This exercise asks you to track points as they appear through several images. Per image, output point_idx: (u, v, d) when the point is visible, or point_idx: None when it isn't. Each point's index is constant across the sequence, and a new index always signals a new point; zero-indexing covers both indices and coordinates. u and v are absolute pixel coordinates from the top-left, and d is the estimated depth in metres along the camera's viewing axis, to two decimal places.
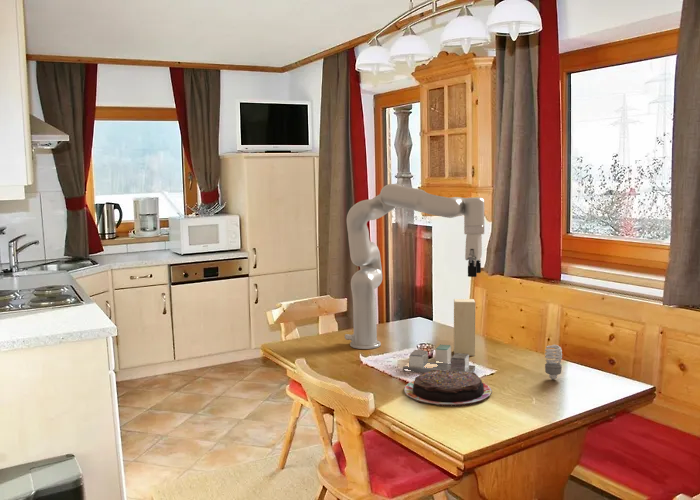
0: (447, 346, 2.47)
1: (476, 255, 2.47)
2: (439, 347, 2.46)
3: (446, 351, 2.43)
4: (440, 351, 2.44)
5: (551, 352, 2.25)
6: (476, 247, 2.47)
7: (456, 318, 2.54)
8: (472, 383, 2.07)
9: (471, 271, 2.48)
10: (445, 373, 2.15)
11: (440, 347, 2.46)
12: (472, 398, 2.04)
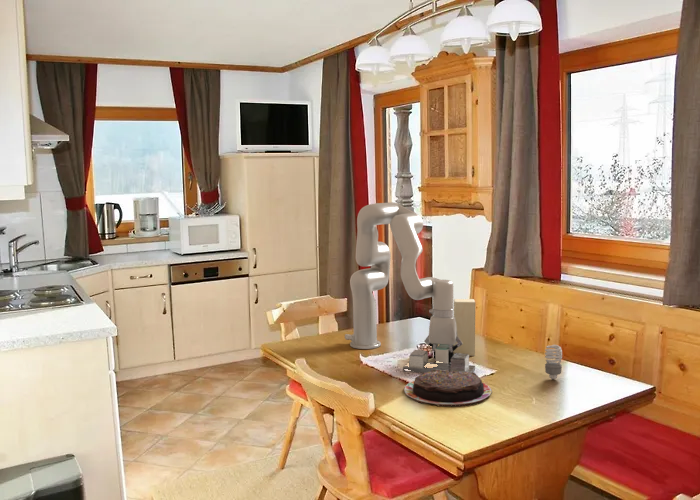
0: (447, 346, 2.47)
1: None
2: (439, 347, 2.46)
3: (446, 351, 2.43)
4: (440, 351, 2.44)
5: (551, 352, 2.25)
6: None
7: (456, 318, 2.54)
8: (472, 383, 2.07)
9: (452, 356, 2.46)
10: (445, 373, 2.15)
11: (440, 347, 2.46)
12: (472, 398, 2.04)
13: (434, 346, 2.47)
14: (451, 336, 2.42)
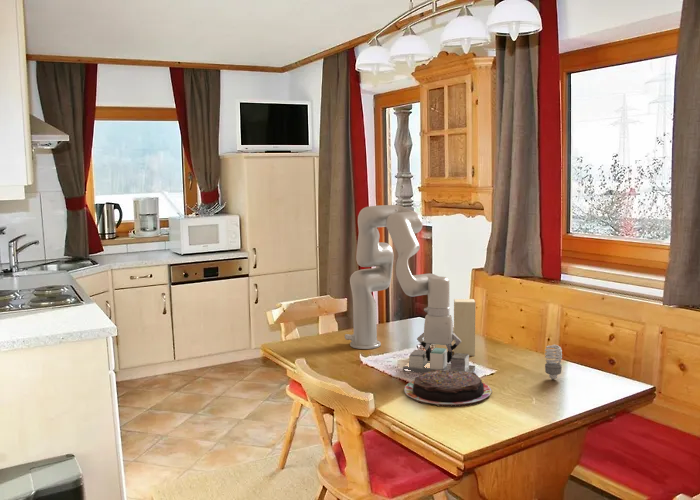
0: (442, 349, 2.36)
1: None
2: (434, 350, 2.35)
3: (441, 355, 2.33)
4: (435, 355, 2.33)
5: (551, 352, 2.25)
6: None
7: (456, 318, 2.54)
8: (472, 383, 2.07)
9: (451, 356, 2.35)
10: (445, 373, 2.15)
11: (435, 350, 2.35)
12: (472, 398, 2.04)
13: (427, 345, 2.36)
14: (447, 335, 2.32)
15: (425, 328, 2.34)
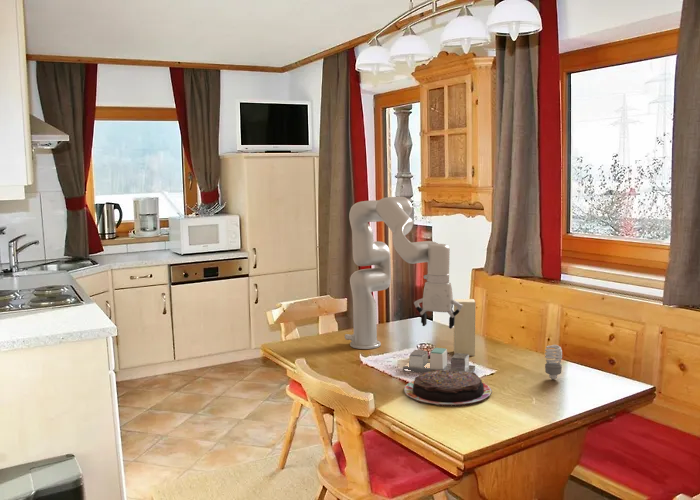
0: (442, 349, 2.36)
1: None
2: (434, 350, 2.35)
3: (441, 355, 2.33)
4: (435, 355, 2.33)
5: (551, 352, 2.25)
6: (452, 296, 2.34)
7: (456, 318, 2.54)
8: (472, 383, 2.07)
9: (453, 322, 2.33)
10: (445, 373, 2.15)
11: (435, 350, 2.35)
12: (472, 398, 2.04)
13: (423, 310, 2.35)
14: (446, 303, 2.30)
15: (424, 295, 2.33)
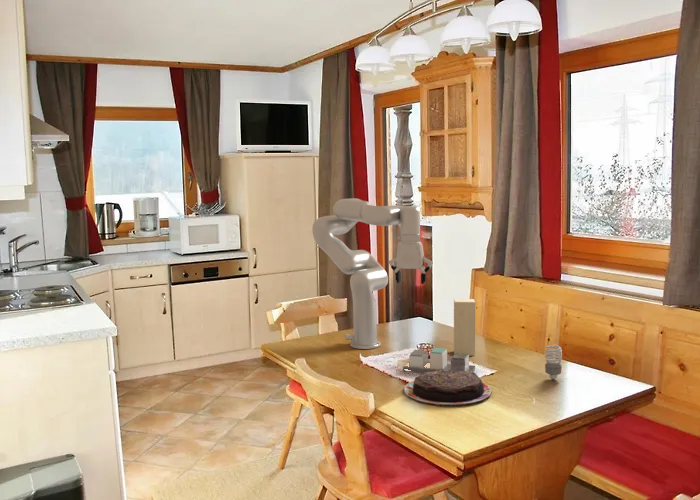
0: (442, 349, 2.36)
1: None
2: (434, 350, 2.35)
3: (441, 355, 2.33)
4: (435, 355, 2.33)
5: (551, 352, 2.25)
6: (423, 254, 2.53)
7: (456, 318, 2.54)
8: (472, 383, 2.07)
9: (425, 278, 2.52)
10: (445, 373, 2.15)
11: (435, 350, 2.35)
12: (472, 398, 2.04)
13: (397, 268, 2.55)
14: (417, 260, 2.50)
15: (397, 254, 2.53)
